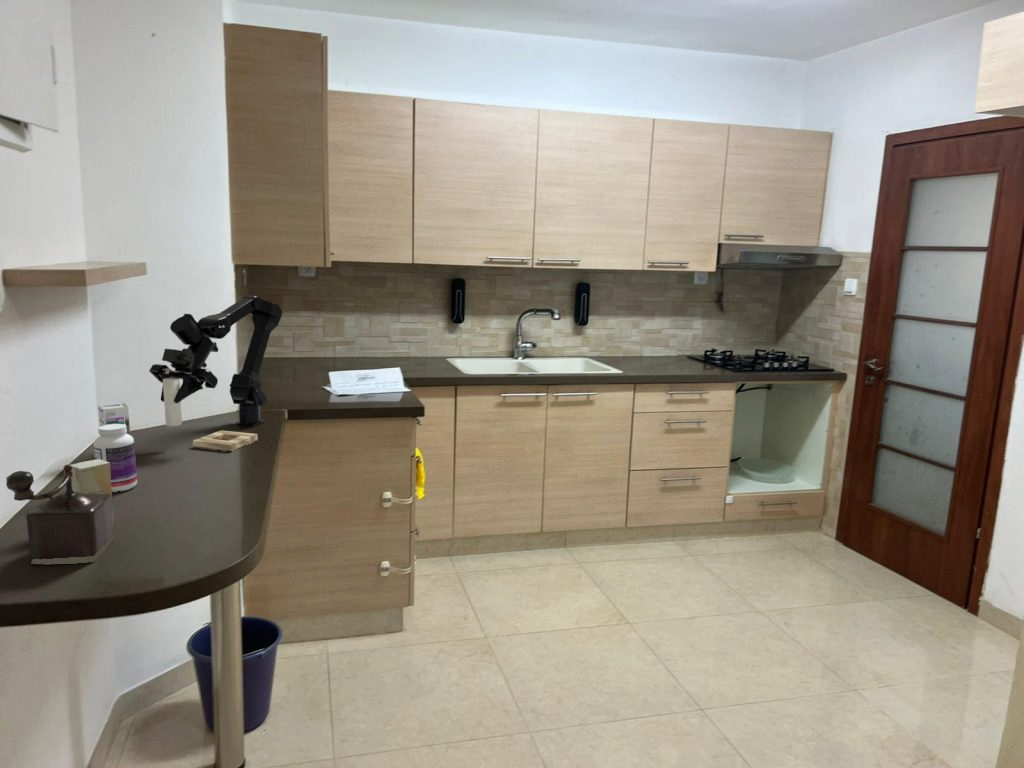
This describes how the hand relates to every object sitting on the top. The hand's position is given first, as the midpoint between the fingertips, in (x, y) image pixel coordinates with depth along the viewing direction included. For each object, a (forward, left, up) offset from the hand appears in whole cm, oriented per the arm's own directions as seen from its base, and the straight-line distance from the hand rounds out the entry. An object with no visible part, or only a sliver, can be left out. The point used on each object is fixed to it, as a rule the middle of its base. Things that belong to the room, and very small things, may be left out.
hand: (168, 401), depth 191 cm
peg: (-1, 0, -7) cm, 7 cm away
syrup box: (+13, -6, -13) cm, 19 cm away
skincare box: (+48, +21, -13) cm, 54 cm away
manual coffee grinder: (+63, +30, -14) cm, 71 cm away
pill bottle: (+30, +10, -13) cm, 34 cm away
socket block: (-9, +10, -13) cm, 19 cm away
